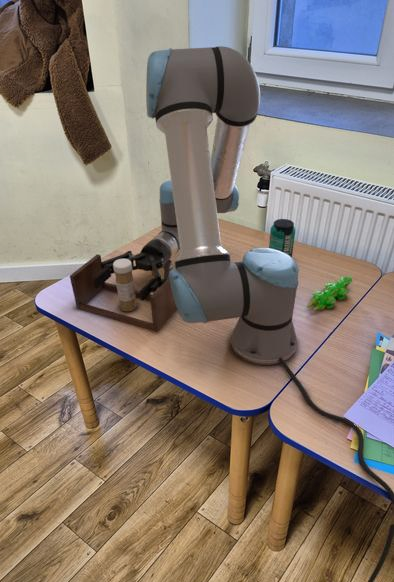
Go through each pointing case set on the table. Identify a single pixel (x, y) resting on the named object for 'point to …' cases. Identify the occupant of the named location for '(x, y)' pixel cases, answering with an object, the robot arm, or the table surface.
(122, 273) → the sprinkles bottle
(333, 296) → the green long bumpy piece
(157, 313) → the bottle rack
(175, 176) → the robot arm
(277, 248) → the green supplement bottle
